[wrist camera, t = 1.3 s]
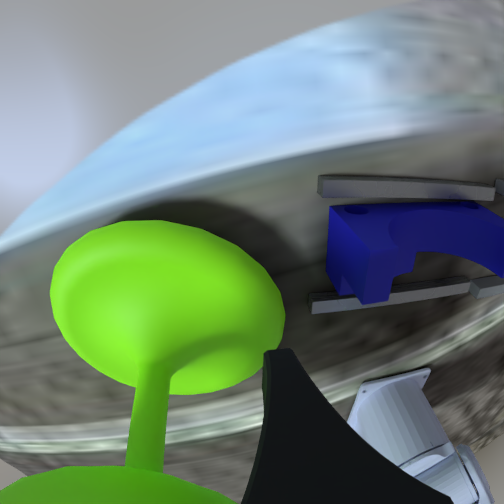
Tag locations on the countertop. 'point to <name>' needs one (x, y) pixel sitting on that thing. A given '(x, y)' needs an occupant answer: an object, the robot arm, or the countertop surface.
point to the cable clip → (406, 242)
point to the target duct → (493, 283)
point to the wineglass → (155, 344)
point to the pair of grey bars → (396, 189)
